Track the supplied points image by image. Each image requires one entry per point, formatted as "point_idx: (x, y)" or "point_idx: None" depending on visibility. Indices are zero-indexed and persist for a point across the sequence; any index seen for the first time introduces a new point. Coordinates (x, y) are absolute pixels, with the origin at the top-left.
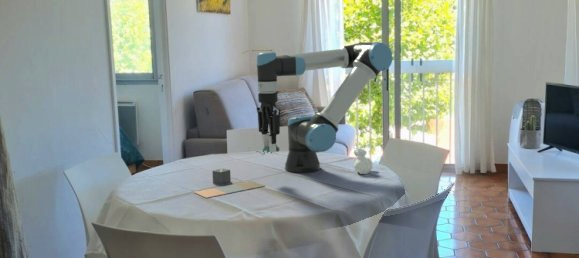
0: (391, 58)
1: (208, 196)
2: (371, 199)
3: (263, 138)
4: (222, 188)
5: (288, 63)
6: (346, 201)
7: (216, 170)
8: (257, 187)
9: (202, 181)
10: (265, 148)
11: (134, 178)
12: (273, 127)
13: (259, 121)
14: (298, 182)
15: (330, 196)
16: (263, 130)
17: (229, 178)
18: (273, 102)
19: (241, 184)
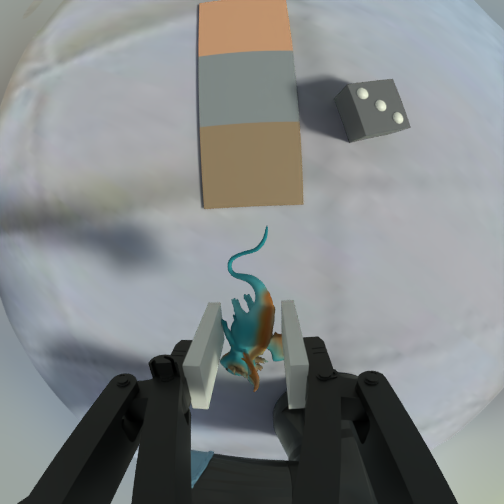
0: None
1: (205, 9)
2: (15, 332)
3: (293, 344)
4: (267, 68)
5: None
6: (12, 292)
7: (389, 92)
8: (202, 175)
9: (407, 81)
10: (255, 303)
11: (490, 22)
12: (100, 418)
13: (400, 451)
14: (185, 325)
15: (40, 293)
16: (308, 396)
17: (352, 135)
18: None
19: (276, 145)
